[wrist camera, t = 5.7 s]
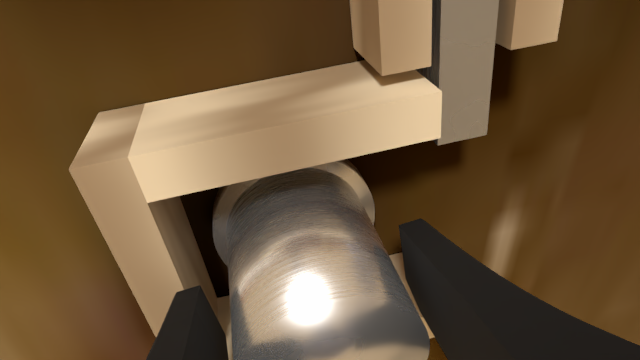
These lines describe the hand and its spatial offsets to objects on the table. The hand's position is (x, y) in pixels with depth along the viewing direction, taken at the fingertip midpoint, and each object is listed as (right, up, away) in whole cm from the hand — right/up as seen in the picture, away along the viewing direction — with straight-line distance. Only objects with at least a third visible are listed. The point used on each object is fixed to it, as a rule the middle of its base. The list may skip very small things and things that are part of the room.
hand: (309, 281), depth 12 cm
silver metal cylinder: (-1, +2, +3) cm, 4 cm away
